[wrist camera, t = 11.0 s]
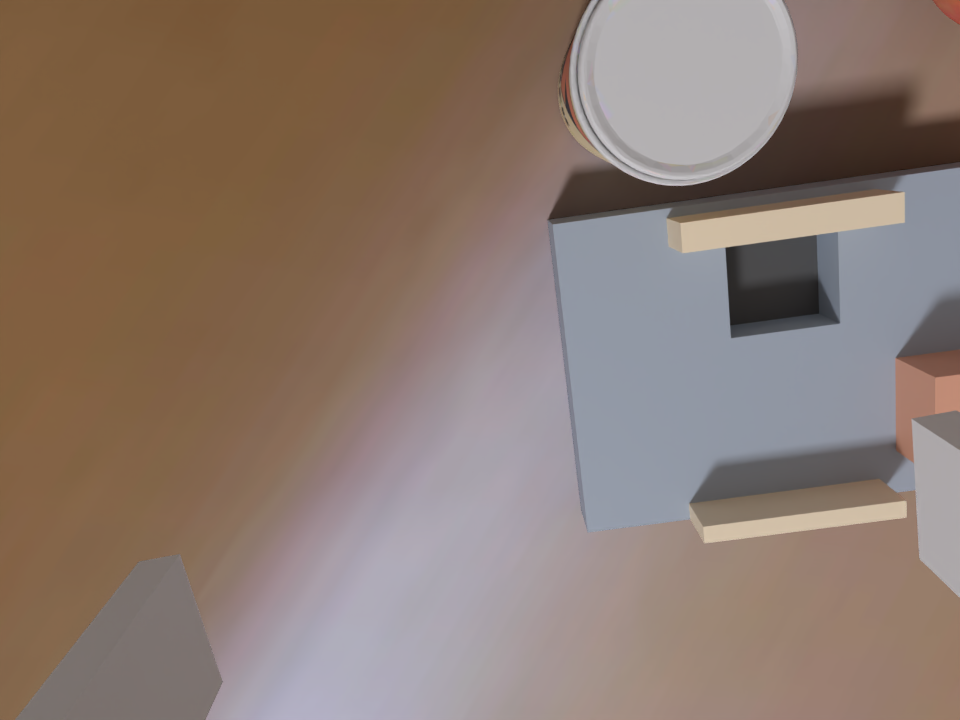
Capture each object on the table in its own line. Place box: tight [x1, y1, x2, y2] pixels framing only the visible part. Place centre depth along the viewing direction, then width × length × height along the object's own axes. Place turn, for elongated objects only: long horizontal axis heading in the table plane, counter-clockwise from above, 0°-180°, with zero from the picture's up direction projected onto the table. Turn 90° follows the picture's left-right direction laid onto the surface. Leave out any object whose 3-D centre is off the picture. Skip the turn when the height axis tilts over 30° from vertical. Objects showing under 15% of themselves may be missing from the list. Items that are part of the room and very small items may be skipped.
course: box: [548, 162, 960, 543], centre depth 45 cm, size 18×24×6 cm
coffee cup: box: [558, 0, 798, 186], centre depth 38 cm, size 9×9×12 cm
